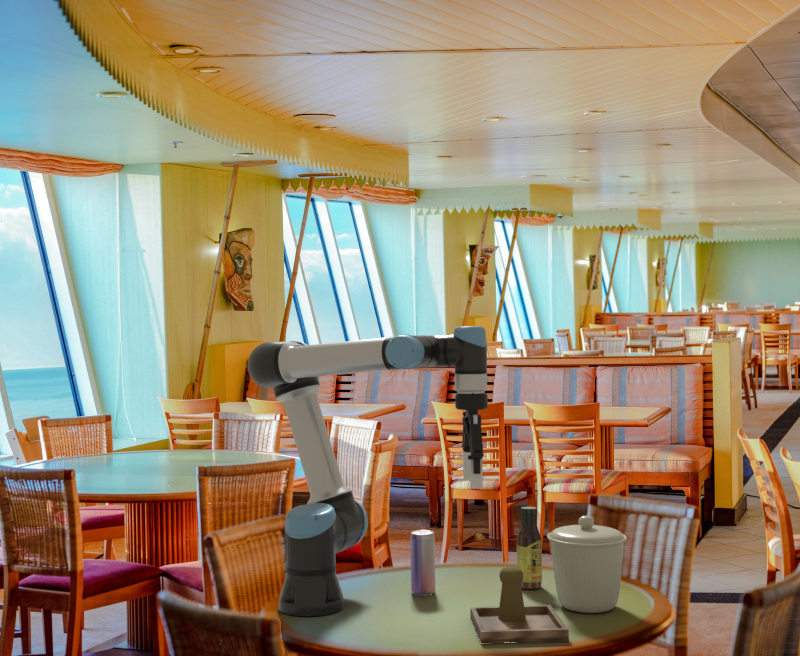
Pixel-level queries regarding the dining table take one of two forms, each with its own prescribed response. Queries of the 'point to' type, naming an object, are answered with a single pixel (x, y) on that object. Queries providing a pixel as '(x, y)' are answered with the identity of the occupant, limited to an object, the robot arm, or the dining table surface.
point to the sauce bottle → (529, 549)
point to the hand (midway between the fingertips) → (472, 483)
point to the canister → (587, 565)
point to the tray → (519, 625)
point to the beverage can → (422, 562)
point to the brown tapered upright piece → (511, 595)
